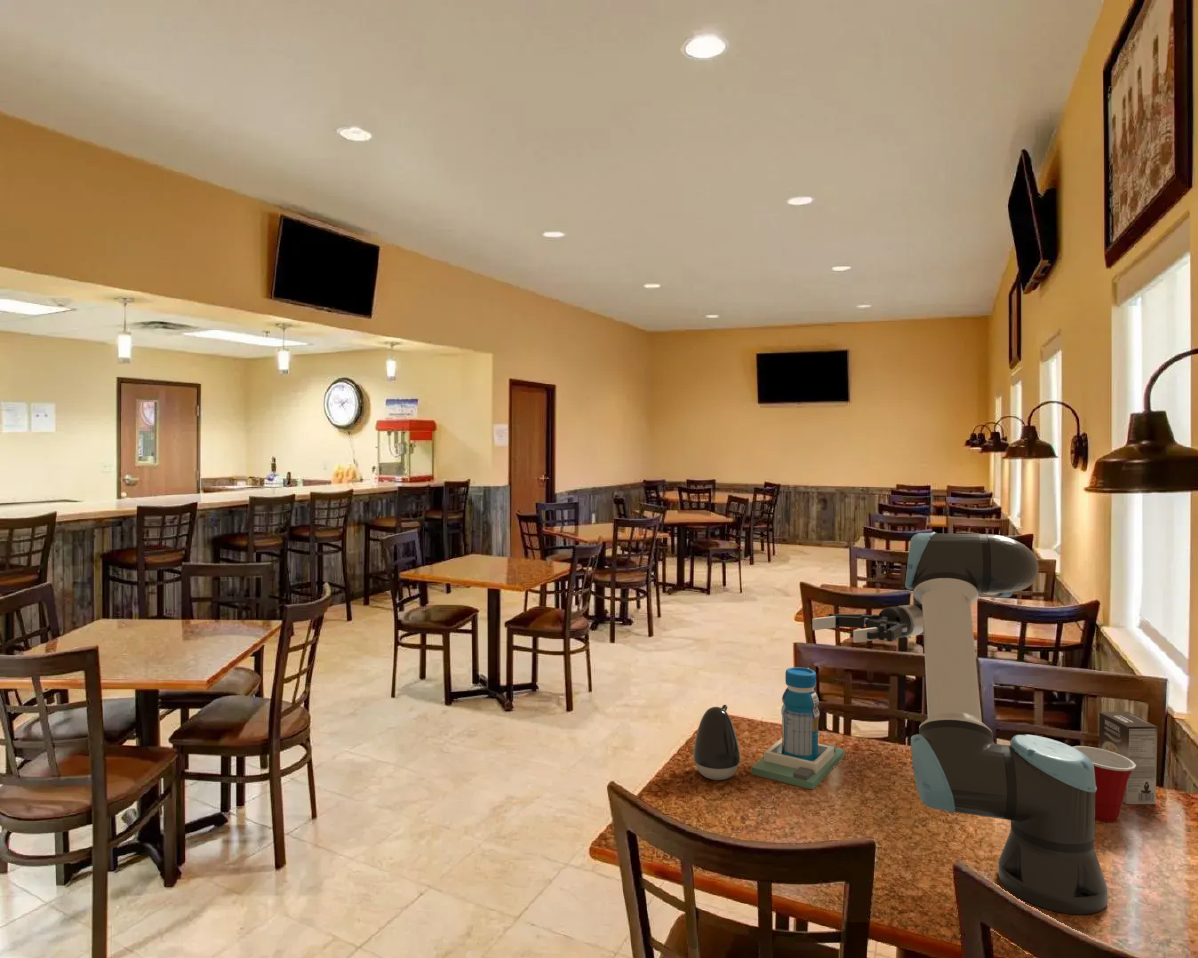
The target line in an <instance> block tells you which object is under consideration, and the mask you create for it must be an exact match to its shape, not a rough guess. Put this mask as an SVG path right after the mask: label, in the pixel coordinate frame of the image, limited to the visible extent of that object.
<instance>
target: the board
mask: <svg viewBox="0 0 1198 958" xmlns="http://www.w3.org/2000/svg"><path fill="white" fill-rule="evenodd" d="M836 746H837V745H835V744H832V743H828V744H822V743H818V758H817V759H816V760H815V761H814V762H812V761H808V760H804V759H799V758H795V757H791V756H787V755H782V737H781V738H780V739H779V740H777V741H776V742H774V744H773V745H771V746H770V747H768V749H766V750H765V751H764V753H763V754H764V756H763V757H762V758H760V759H759V760H758V761H757V762H756V763H755V764H753V765H752V766H751V767H750V773H751V775H754V776H757V777H763V778H766V779H770V780H774V781H778V782H782V783H786V784H789V785H793V786H796V787H800V788H804V789H809V790H812V791H813V790H815V789H816V788H817V786H819V784H820V783H822V781H823V780H824V779H825V778H826V777H827V776H828V775H829V774H830V773H831V771H832V770H834V768H835V767H836V766H837V765H838V764H839V763H840V762H841V761H842V760H843V759H844V758H845V757H846V749H844V748H840V747H836ZM844 756H845V757H844ZM843 757H844V758H843ZM842 758H843V759H842ZM841 759H842V760H841ZM840 760H841V761H840ZM839 761H840V762H839ZM835 765H836V766H835ZM834 766H835V767H834ZM833 767H834V768H833ZM828 773H829V774H828ZM827 774H828V775H827ZM826 775H827V776H826ZM825 776H826V777H825Z"/></svg>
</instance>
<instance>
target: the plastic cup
mask: <svg viewBox="0 0 1198 958" xmlns="http://www.w3.org/2000/svg"><path fill="white" fill-rule="evenodd" d="M1072 747H1073V748H1075V749H1077V750H1079V751H1080V752H1082V753H1083V754H1085V755H1086V756H1087V757H1088V758H1089V759H1090V760H1091V762H1092V763H1093V766H1094V771H1095V783H1096V787H1097V790H1096V792H1095V821H1098V822H1102V823H1115V822H1117V821H1118V819H1119V817H1120V812H1121V808H1122V804H1123V803H1124V802H1123V798H1124V794H1125V790H1126V786H1127V781H1128V779H1129V776H1130V774H1131V771H1132V770H1133V769H1134V768H1135V767H1136V765H1135V763H1134V762H1133V761H1131V760H1130V759H1128V758H1126V757H1124V756H1122V755H1119V754H1116V753H1114V752H1110V751H1107V750H1103V749H1099V747H1092V746H1085V745H1075V746H1072Z"/></svg>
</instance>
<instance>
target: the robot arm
mask: <svg viewBox="0 0 1198 958" xmlns="http://www.w3.org/2000/svg"><path fill="white" fill-rule="evenodd" d="M908 550H909V551H908V557H907V565H906V567H907V568H906V575H905V584H904V585H905V588H906V589H908V590H910V591H913V592H912V593H913V594H912V596H913V599H912V600H913V601H912V604H907V605H905V604H903V605H898V606H889V607H884V608H883V609H881V611H880V612H879V614H872V615H870V614H868V613H828V614H827V615H828V616H824V617H815V618H812V619H811V620H812V622H811V623H812V631H819V630H826V629H827V630H828V629H831V630H834V629H835V628H836V627H839V628H840V627H841V628H842V627H843V628H857V629H853V632H852V633H853V634H852V639H853V641H852V642H853V643H862V642H870V641H877V640H880V641H884V640H885V639H886V641H887V642H890V643H891V642H893V641H895V640H898V639H901V638H906V639H911V638H912V637H914V636H915V637H916V636H920V635H921V636H922V635H923V645H924V648H923V649H924V665H925V667H924V668H925V685H926V686H925V687H926V688H925V689H926V705H927V706H926V707H927V708H926V709H927V710H926V711H927V718H926V720H924V721H923V722H922V723H921V724H919V728H918V730H919V731H918V733H917V734H914V735H912V736H911V738H910V752H911V757H912V759H911V760H912V761H911V762H912V770H913V774H914V775H913V776H914V782H915V785H916V791H917V793H918V794H917V795H918V797H919V799H920V801H921V803H923V805H924V806H926V807H928V808H929V809H933V810H939V811H943V812H944V811H945V812H947V813H949V814H955V813H958V814H963V815H964V814H965V815H970V816H979V817H986V818H994V819H998V820H1000V819H1001V820H1007V821H1008V820H1009V821H1010V831H1009V835H1008V836H1007V838H1006V841H1005V842H1004V846H1003V849H1002V851H1001V853H1000V855H999V860H998V871H997V873H998V879H999V881H1000V882H1001V884H1002V885H1003V886H1004V887H1005V889H1007V890H1008V891H1009V892H1011V893H1012V894H1014V895H1015V896H1016V897H1017V898H1020V899H1021V900H1024V901H1025V902H1028V903H1030V904H1032V905H1034V906H1037V907H1041V908H1043V909H1046V910H1050V911H1054V912H1058V913H1064V914H1070V915H1071V914H1072V915H1088V914H1095V913H1098V912H1100V911H1103V910H1104V909H1106V906H1107V904H1108V885H1107V882H1106V879H1105V876H1104V874H1103V871H1102V868H1101V865H1100V861H1099V860H1098V859H1099V858H1098V856H1097V853H1096V850H1095V836H1096V835H1095V829H1096V828H1095V825H1096V820H1095V792H1096V790H1097V787H1096V783H1095V771H1094V766H1093V763H1092V762H1091V760H1090V759H1089V758H1088V757H1087V756H1086V755H1085V754H1083V753H1082V752H1080V751H1079V750H1077V749H1075V748H1073V747H1074V746H1071V745H1068V744H1066V743H1063V742H1061V741H1059V740H1055V739H1052V738H1048V737H1044V736H1040V735H1035V734H1034V735H1033V734H1016V735H1013V737H1011V740H1010V742H1009V745H1008V744H1002V743H1001V744H1000V743H995V742H994V737H993V736H994V735H993V731H992V729H991V728H989V727H988V726H987V725H986V724H985V723H984V722H982V713H981V711H982V710H981V703H980V692H979V689H980V688H979V680H978V669H977V658H976V649H975V638H974V637H975V635H974V625H973V615H972V605H973V604H974V603H976V602H977V600H978V598H979V597H984V598H986V597H988V598H995V599H996V598H997V599H999V598H1010V597H1012V595H1013V593H1015V592H1020V591H1023V590H1026V589H1028V588H1029V587H1031V586H1032V585H1033V584H1034V582H1035V581H1036V580H1037V578H1038V576H1039V572H1040V571H1039V569H1040V568H1039V562H1038V558H1037V557H1036V555H1035V554H1034V552H1033V551H1032V550H1031V549H1030V548H1029V547H1028V546H1026V545H1025V544H1023V543H1021V542H1020V541H1017V540H1016V539H1013V538H1011V537H1008V536H1004V535H1000V534H991V533H986V534H985V533H983V534H982V533H981V534H980V533H977V534H976V533H938V532H935V531H932V532H918V533H916V534H915V533H914V534H913V535H912V537H911V538H910V542H909V549H908Z"/></svg>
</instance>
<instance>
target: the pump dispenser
mask: <svg viewBox="0 0 1198 958" xmlns="http://www.w3.org/2000/svg"><path fill="white" fill-rule="evenodd" d="M727 710H728V705H727V704H722V706H721V707H719V706H712V707H710V708H708V709H706V711H705V713H703V715H702V718H701V719H700V722H699V725H698V728H697V731H696V735H695V739H694V744H693V746H694V747H693V752H692V754H693V755H692V759H693V761H694V763H695V766H696V768H697V771H698V772H699V773H700V774H701V776H703V777H704V778H707V779H708V780H712V781H723V780H726V779H730V778H731V777H732V776H733V775H734V774H735V773H736V771H737V769H738V766H739V764H740V763H741V755H740V748H739V747H740V746H739V742H738V738H737V736H738V735H737V732H736V729H735V727H734V723H733V721H732V719H731V716H730V715H729V713H728V712H727Z"/></svg>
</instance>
